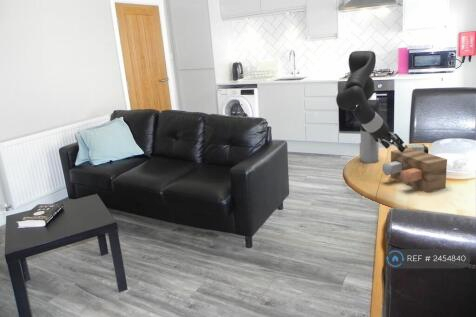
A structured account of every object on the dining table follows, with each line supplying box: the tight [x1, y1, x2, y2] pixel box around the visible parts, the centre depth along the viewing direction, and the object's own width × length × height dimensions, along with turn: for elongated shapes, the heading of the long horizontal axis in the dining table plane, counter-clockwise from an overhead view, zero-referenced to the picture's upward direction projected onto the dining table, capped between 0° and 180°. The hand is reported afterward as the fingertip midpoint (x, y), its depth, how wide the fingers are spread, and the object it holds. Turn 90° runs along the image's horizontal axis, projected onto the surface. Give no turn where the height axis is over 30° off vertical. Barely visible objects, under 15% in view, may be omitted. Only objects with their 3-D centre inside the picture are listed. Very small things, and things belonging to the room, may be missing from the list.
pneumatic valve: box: [404, 143, 429, 154], centre depth 204 cm, size 6×12×12 cm, turn 79°
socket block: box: [390, 148, 448, 193], centre depth 183 cm, size 23×10×13 cm, turn 20°
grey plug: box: [382, 161, 403, 176], centre depth 186 cm, size 6×11×6 cm, turn 110°
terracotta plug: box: [401, 168, 423, 184], centre depth 175 cm, size 6×11×6 cm, turn 110°
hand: (395, 148), depth 167 cm, fingers open, 8 cm apart
